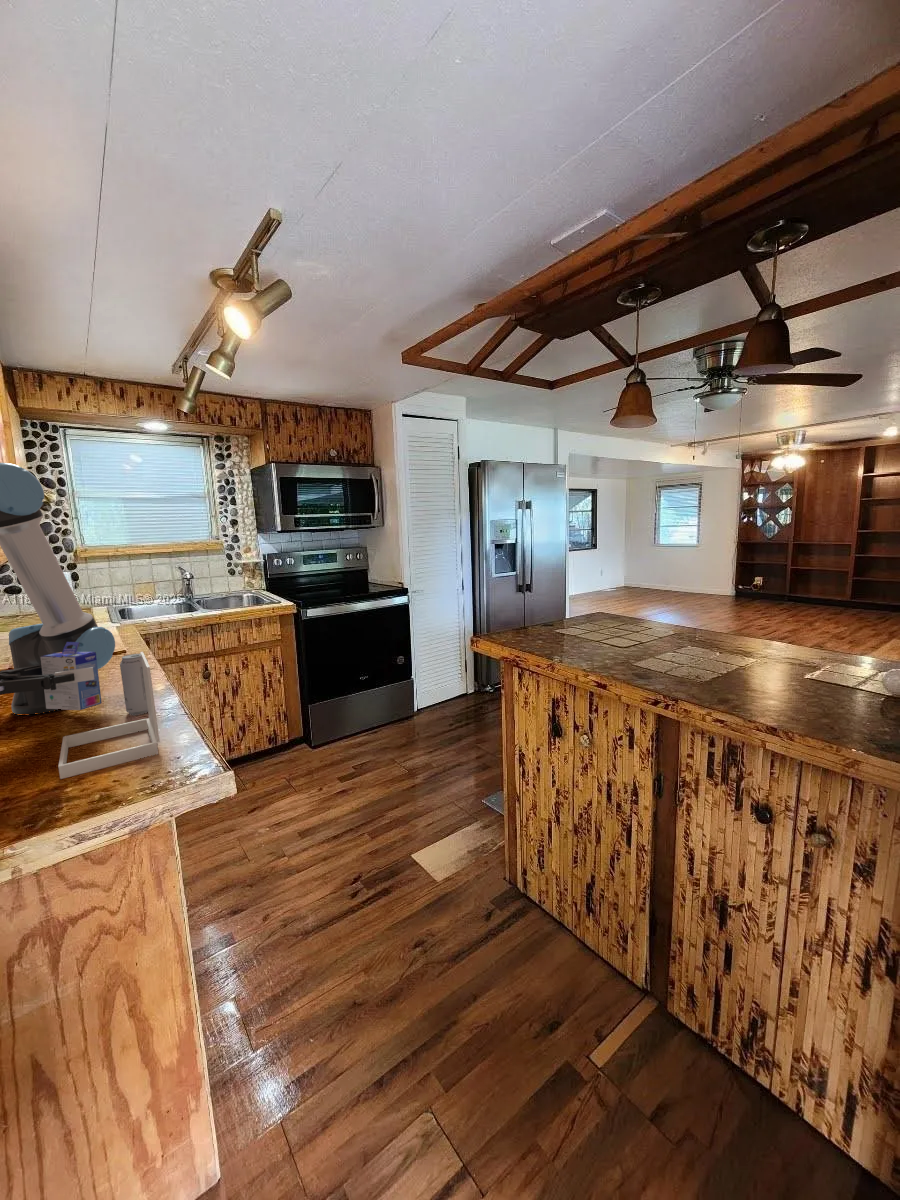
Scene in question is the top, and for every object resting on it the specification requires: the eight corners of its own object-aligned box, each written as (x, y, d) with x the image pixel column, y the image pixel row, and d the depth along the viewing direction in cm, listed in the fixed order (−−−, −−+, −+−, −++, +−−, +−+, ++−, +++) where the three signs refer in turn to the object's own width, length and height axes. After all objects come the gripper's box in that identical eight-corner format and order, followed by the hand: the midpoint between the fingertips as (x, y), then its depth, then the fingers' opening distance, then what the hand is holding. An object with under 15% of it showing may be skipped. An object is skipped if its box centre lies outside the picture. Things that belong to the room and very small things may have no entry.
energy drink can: (132, 709, 129) (124, 654, 127) (157, 706, 131) (150, 652, 129) (122, 717, 124) (114, 659, 122) (149, 714, 125) (141, 657, 123)
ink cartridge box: (104, 702, 112) (96, 641, 110) (81, 711, 107) (72, 646, 105) (69, 701, 114) (60, 640, 112) (45, 709, 109) (36, 646, 107)
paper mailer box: (65, 747, 106) (51, 665, 104) (152, 727, 116) (142, 651, 113) (60, 779, 92) (45, 684, 89) (161, 753, 101) (149, 666, 99)
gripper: (-27, 693, 109) (95, 674, 122) (-52, 722, 91) (95, 696, 103) (-32, 660, 108) (91, 644, 121) (-58, 682, 90) (91, 661, 102)
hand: (93, 668), depth 112 cm, fingers closed on ink cartridge box, 10 cm apart
